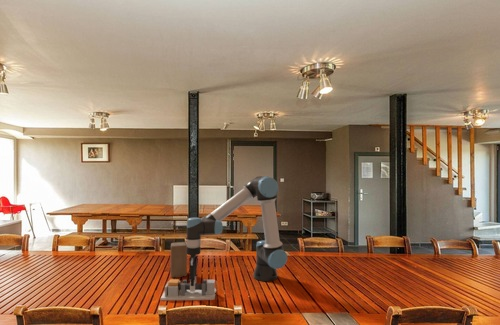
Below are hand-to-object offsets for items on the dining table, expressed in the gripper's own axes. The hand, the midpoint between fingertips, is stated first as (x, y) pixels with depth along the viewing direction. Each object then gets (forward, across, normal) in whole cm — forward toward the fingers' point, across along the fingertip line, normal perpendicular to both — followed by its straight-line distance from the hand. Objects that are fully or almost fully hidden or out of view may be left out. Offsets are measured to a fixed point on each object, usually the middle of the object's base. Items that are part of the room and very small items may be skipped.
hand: (193, 289), depth 167 cm
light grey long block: (+3, 0, -2) cm, 4 cm away
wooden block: (+3, -33, -14) cm, 36 cm away
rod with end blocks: (+1, 0, 0) cm, 1 cm away
